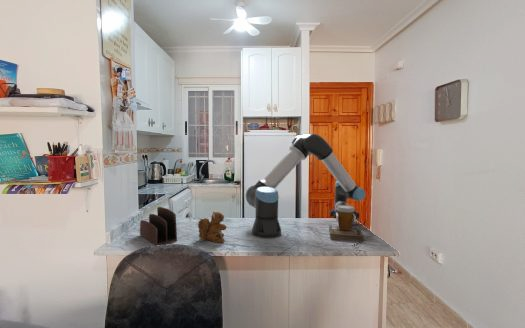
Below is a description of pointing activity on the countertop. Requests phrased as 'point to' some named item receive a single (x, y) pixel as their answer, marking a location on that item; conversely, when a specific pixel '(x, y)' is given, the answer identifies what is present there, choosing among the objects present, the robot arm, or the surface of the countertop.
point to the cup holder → (346, 234)
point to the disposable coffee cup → (345, 216)
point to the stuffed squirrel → (212, 228)
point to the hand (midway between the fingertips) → (346, 218)
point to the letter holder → (160, 227)
